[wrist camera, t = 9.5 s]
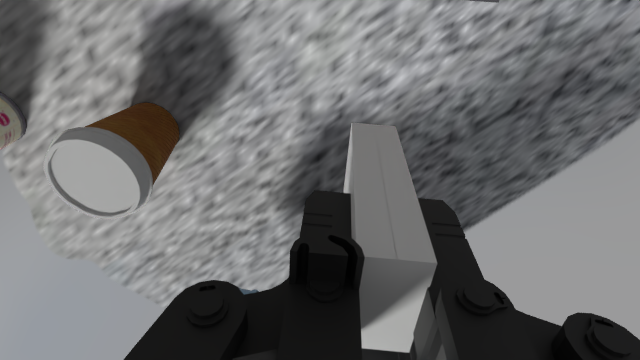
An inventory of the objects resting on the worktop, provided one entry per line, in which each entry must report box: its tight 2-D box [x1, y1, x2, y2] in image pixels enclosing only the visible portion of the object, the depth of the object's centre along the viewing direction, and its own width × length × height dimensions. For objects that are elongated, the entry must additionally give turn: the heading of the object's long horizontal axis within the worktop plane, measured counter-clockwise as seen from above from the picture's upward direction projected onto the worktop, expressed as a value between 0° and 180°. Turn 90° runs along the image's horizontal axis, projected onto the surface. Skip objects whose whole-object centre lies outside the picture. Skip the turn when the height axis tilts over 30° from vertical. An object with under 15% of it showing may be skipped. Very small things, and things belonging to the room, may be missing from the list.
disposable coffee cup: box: [44, 103, 179, 220], centre depth 38 cm, size 10×10×12 cm
